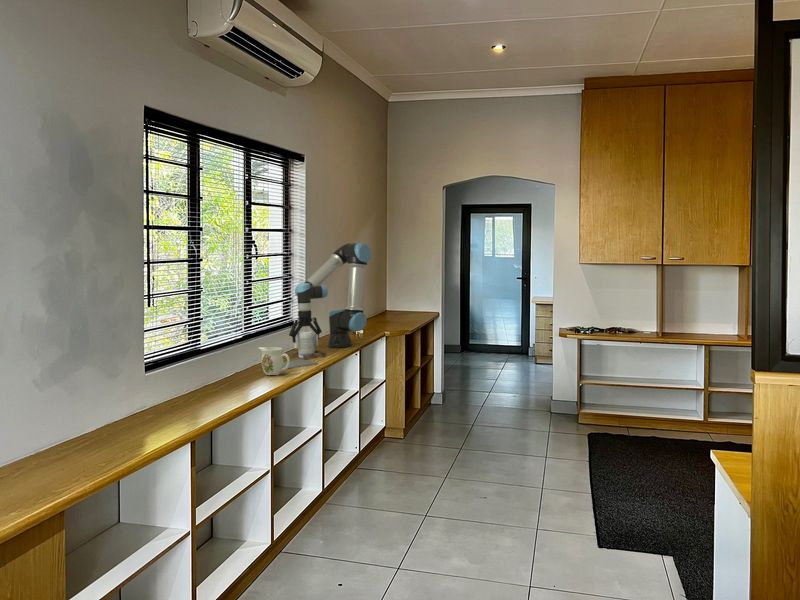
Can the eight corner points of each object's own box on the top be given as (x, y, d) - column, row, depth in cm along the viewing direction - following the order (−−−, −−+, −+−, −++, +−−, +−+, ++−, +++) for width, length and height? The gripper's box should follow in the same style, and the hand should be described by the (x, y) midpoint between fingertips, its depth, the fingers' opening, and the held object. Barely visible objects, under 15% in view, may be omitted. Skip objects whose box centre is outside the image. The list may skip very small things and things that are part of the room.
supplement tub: (318, 356, 398) (316, 331, 397) (303, 359, 393) (302, 333, 392) (310, 354, 406) (309, 330, 405) (295, 357, 401) (294, 331, 400)
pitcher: (284, 377, 341) (283, 350, 340) (253, 376, 348) (252, 349, 347) (295, 373, 352) (294, 346, 350) (265, 372, 358) (264, 345, 357)
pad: (302, 359, 390) (302, 359, 390) (318, 363, 376) (318, 363, 376) (273, 364, 379) (273, 363, 379) (289, 368, 365) (289, 367, 365)
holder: (312, 353, 411) (311, 349, 410) (325, 356, 398) (325, 352, 398) (291, 356, 402) (291, 352, 402) (304, 359, 390) (304, 355, 390)
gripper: (319, 307, 408) (321, 343, 410) (282, 311, 393) (283, 348, 394) (326, 308, 402) (328, 344, 404) (288, 312, 387) (290, 350, 389)
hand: (306, 346), depth 399 cm, fingers open, 13 cm apart
